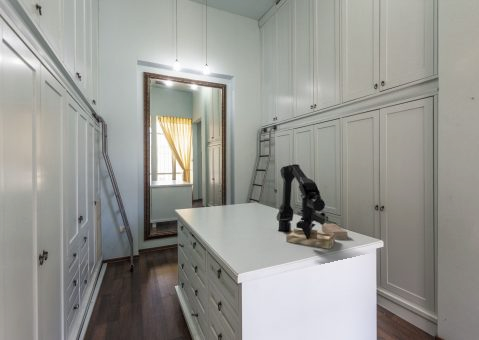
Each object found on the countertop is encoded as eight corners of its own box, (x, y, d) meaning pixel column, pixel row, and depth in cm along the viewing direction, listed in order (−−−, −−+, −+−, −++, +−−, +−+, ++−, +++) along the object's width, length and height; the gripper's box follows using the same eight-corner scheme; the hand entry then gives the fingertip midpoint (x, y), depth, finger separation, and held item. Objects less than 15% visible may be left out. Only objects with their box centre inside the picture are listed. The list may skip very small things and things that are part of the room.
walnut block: (306, 238, 119) (306, 231, 119) (308, 236, 123) (308, 229, 123) (315, 240, 116) (315, 232, 116) (317, 237, 120) (317, 230, 120)
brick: (348, 239, 126) (348, 230, 126) (333, 239, 126) (333, 231, 126) (334, 231, 143) (334, 223, 143) (321, 231, 143) (321, 223, 142)
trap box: (286, 241, 123) (286, 232, 123) (294, 235, 134) (294, 227, 134) (330, 248, 111) (330, 239, 111) (334, 241, 122) (334, 232, 122)
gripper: (321, 212, 101) (320, 247, 102) (329, 205, 117) (329, 236, 118) (295, 209, 107) (295, 243, 107) (306, 204, 123) (306, 233, 123)
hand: (308, 239), depth 114 cm, fingers closed
